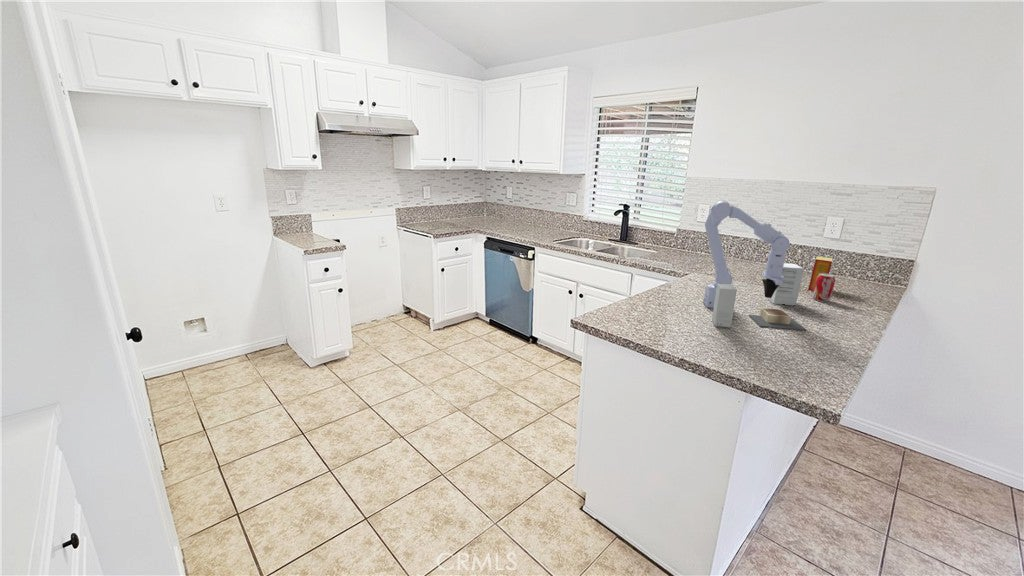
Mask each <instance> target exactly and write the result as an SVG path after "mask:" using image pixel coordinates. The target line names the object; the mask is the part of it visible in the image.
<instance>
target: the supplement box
mask: <svg viewBox="0 0 1024 576" xmlns="http://www.w3.org/2000/svg"><path fill="white" fill-rule="evenodd" d="M804 271H805V268H804V267H802V266H800V265H798V264H796V263H786V262H784V266H783V270H782V274H781V276H784V279H782V281H783V282H782V285H780V286H778V288H777V289H776V290H775V292H774V294H773V296H772V297H771V298H768V299H769V300H768V299H767V300H768V301H769V302H771V303H772V304H773V303H774V304H773V305H782V304H785V305H784V306H793V305H796V306H797V301H798V297H799V293H800V292H799V291H800V288H801V285H802V281H803V276H804Z"/></svg>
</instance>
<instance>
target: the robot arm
mask: <svg viewBox="0 0 1024 576" xmlns="http://www.w3.org/2000/svg"><path fill="white" fill-rule="evenodd" d="M727 217H729V218H730V219H736V220H737V219H738V220H739V221H741V222H742V223H743V224H745V225H747V226H748V227H749V228H751V229H752V230H753V234H754V235H755V236H757V237H758V238H759V239H761V240H762V241H764V242H765V243H766V244H770V246H771V247H770V251H769V252H768V257H767V262H766V266H765V270H763V271H762V276H763V277H764V278H762V283H763V289H764V293H763V294H764V297H765V298H766V299H767V298H771V297H772V296H773V294H774V292H775V290H776V289H777V288H778V286H780V285H782V282H783V281H782V279H784V276H781V274H782V270H783V266H784V263H785V262H786V261H785V260H786V256H787V255H786V254H787V252H788V251H787V250H788V249H789V248H790V246H791V243H790V240H789V238H788V237H787V236H786V235H785V234H783V232H782V231H780V230H779V231H778V230H777V229H775V228H774V227H773V226H772V224H771V223H770V222H768V223H767V222H758V220H756V219H754V218H753V217H752V216H751V215H749V214H748V213H746V212H745V211H744V210H743V209H741V208H740V207H738V206H737V205H734V204H731V203H729V202H728V201H726V200H719V201H717V202H715V203H714V205H713V206H712V207H711V208H710V211H709V213H708V216H707V217H706V220H705V222H704V229H705V232H706V236H707V240H708V244H709V248H710V252H711V257H712V260H713V264H714V270H715V275H714V277H715V280H714V282H712V284H706V286H705V291H704V294H703V299H702V302H703V304H704V305H705V306H706V308H712V309H714V303H715V296H716V289H717V284H731V285H732V283H733V276H732V272H731V270H729V268H728V266H727V262H726V258H725V253H724V249H723V245H722V240H721V235H720V232H719V227H718V226H719V225H720V224H721V223H722V221H724V220H725V219H726V218H727Z"/></svg>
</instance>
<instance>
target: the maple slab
mask: <svg viewBox="0 0 1024 576" xmlns="http://www.w3.org/2000/svg"><path fill="white" fill-rule="evenodd" d="M758 315H759V316H761V317H762V318H763V319H764V320H765V321H766V322H769V323H781V324H790V321H791V318H792V316H791V315H790V314H789V313H787V312H786V311H785V310H783V309H781V308H780V309H778V308H768V307H767V308H766V307H760V308H759V313H758Z"/></svg>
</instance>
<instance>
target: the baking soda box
mask: <svg viewBox="0 0 1024 576" xmlns="http://www.w3.org/2000/svg"><path fill="white" fill-rule="evenodd" d="M832 263H833V258H832V257H828V256H827V257H826V256H818V255H816V258H815V261H814V264H813V268H812V272H811V276H810V280H809V284H808V289H807V290H808V291H810V290H812V292H813V289H814V285H815V282H816V278H817V276H818V275H819V274H820V273H826V274H830V271H831V267H832Z"/></svg>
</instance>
